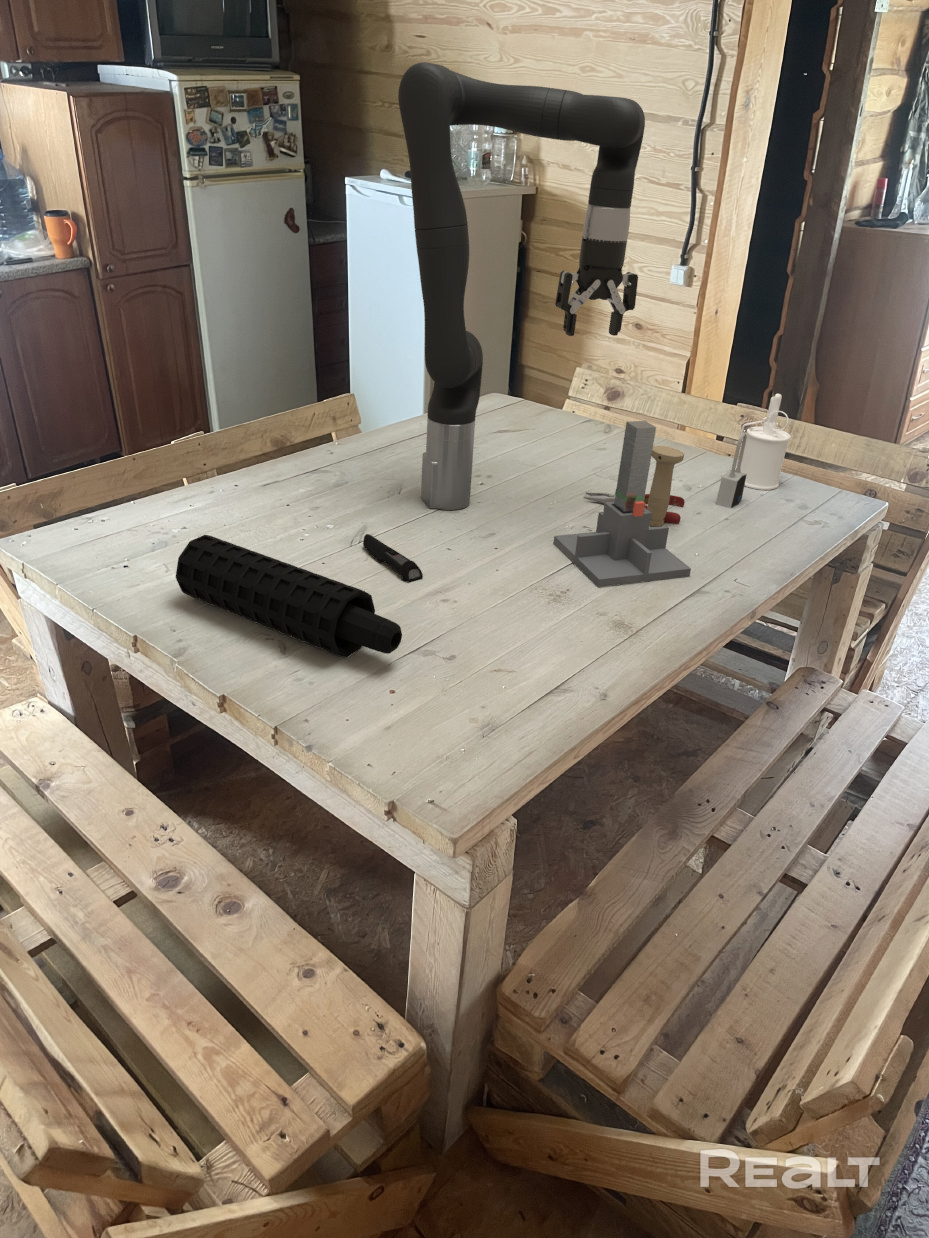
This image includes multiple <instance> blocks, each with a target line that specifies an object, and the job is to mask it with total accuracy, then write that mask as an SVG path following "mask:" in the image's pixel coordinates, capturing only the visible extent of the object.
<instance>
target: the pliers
mask: <svg viewBox="0 0 929 1238" xmlns="http://www.w3.org/2000/svg"><path fill="white" fill-rule="evenodd" d="M649 494H650V493H645V499H644V502H645V506H644V508H646V509H647V508H648V499H649ZM585 495H587V496H583V499H584V500H585V499H586V500H588V501H593V502H597V503H599V504H603V505H604V504H605V503H607V502H614V501H615V493H608V492H605V493H604V492H585ZM668 506H673V507H679V508H684V506H685V499H684V498H683V497H682V496H679V495H673V494H670V500H669V504H668ZM681 517H682V516H681V515H680V514H679V513H677V512H672V511H667V512H666V515H665V518H663V519H664V523H665V524H672V525H678V524H680V522H681ZM664 523H663V524H664Z"/></svg>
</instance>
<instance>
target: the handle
mask: <svg viewBox="0 0 929 1238" xmlns="http://www.w3.org/2000/svg"><path fill="white" fill-rule="evenodd" d="M684 457H685V453H684V452H683V451H681V450H679V449H677V448H674V447H671V446H665V445H655V446H654V445H653V449H652V455H651V458H653V459H654V460H655V464H656V465H655V467H654V468H655V469H654V473H653V477H652V478H653V479H652V482H651V486H650V490H649V493H648V494H649V499H648V504H647V506H648V508H647V510H648V511H650V512H651V513H652V514H651V519H650V525H649V527H662V526H663V525H664V519H663V518H665V515H666V512H668V508H669V505H668V504H669V500H670V495H671V492H672V491H671V490H672V483H673V473H674V467H675V465H677V464H679V463H682V462H683V461H684Z"/></svg>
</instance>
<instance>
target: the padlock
mask: <svg viewBox="0 0 929 1238" xmlns="http://www.w3.org/2000/svg"><path fill="white" fill-rule="evenodd" d="M740 434H741V433H740ZM746 439H747V432H743V433H742V434H741V435H740V436H739V438H738V440H737V444H736V448H735V451H734V457H733V461H732V467H731V470H728V471H726V472H725V473H724V474H723V475H722V477H721V479H720V484H719V487H718V488H719V489H718V492H717V497H716V501H715V505H717V506H721V507H725V508H728V509H732V508H734V507H736V506H737V505H739V503H740V502H741V501H742V499H743V495H744V490H745V486H744V485H745V480H746V476H747V474H746V473H742V472H741V469H740V467H741V462H742V458H743V453H744V449H745V444H746Z"/></svg>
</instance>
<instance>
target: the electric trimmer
mask: <svg viewBox="0 0 929 1238" xmlns="http://www.w3.org/2000/svg"><path fill="white" fill-rule="evenodd" d="M362 545H363V548H365V550H366V551H367V552H368V553H369V554H370V555H371V556H372V557H373V558H374V559H375V560H376V561H377V562H378V563H380V564H386V565H387V566H388V567H390V568H391V569H392V570H393V571H394V572H396V573H398V574H399V575H400V576H401V579H402V581H403V582H405V583H406V582H407V583H408V584H409V583H413V582H416V581H420V580H423V577H424V576H423V571H422V570H421V568H420V567H419V566H418V564H417V563H416V562H415V561H414V560H411V559H409V558H407V557H406V556H405V555H403V554H401V553H400V552H398V551H396V550H395V549H393V548H391V547H390V546H388V545H387V544H385V543H384V542H382V541H380V540H379V539H377V538H376V537H374V536H373V535H372V534H370V533H369V534H368V533H365V535H364V537H363V542H362Z"/></svg>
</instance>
